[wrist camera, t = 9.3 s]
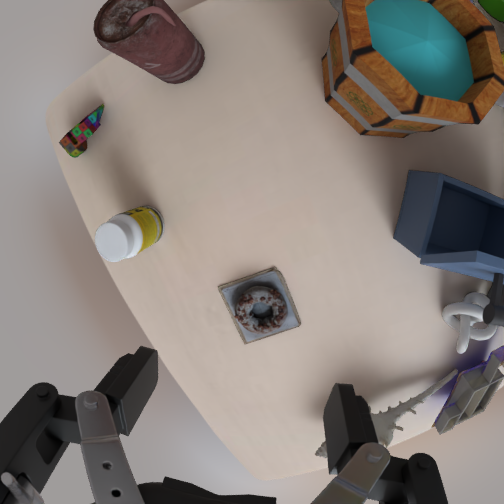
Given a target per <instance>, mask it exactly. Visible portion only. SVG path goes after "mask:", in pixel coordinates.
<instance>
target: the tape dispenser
mask: <svg viewBox="0 0 504 504" xmlns="http://www.w3.org/2000/svg"><path fill="white" fill-rule="evenodd" d="M478 1H479V3H480V4H481V5H482V7H483V8H484V9H485V10H486V11H487V12H488V13H489V14H490V15H491V16H492V17H494V18H495V19H497V20H499V21H501V22H504V0H478Z"/></svg>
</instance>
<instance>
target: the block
mask: <svg viewBox="0 0 504 504" xmlns="http://www.w3.org/2000/svg"><path fill="white" fill-rule="evenodd" d="M103 108H104V104H102V105H100V106H99V107H98V108H96V109H95V110H94V111H93V112H91V113H90V114H89V115H87V116H86V117H85V118H84V119H83V120H82V121H81V122H80V123H79V124H77V125H76V126H75V127H74V128H73V129H71V130H70V131H69V132H68V133H67V134H66V135H65V136H64V137H63V138H62V140H61V141H60V142H59V143H60V144H61V146H62V147H63V148H64V149H65V150H66V152H67V153H68V154H69V155H70V156H72V157H78V156H79V155H80V154H82V153H83V152H84V151H86V149H87V142H86V139H87V138H88V137H90V136H91V135H92V134H93V133H94V132H95V131H96V130H97V128H98V127H99V126H100V125H101V124H100V123H99V121H100V118H101V115H102V112H103Z"/></svg>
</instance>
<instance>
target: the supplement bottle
mask: <svg viewBox="0 0 504 504" xmlns="http://www.w3.org/2000/svg"><path fill="white" fill-rule="evenodd" d="M163 232H164V221H163V218H162V216H161V214H160V213H159V212H158V211H157V210H156V209H154V208H153V207H150V206H142V207H138V208H135V209H132V210H129V211H126V212H123V213H120V214H117V215H115V216H113V217H112V218H111V219H110V220H109V221H107V222H106V223H103V224H102V225H101V226H100V227H99V228H98V229H97V231H96V235H95V244H96V248H97V250H98V252H99V253H100V255H101V256H102V257H103V258H104V259H106V260H108V261H111V262H118V261H120V260H122V259H128V258H131V257H133V256H135V255H137V254H138V253H140V252H141V251H143V250H145V249H146V248H148V247H149V246H151V245H153V244H154V243H156V242H157V241H159V239H160V238H161V237H162V235H163Z"/></svg>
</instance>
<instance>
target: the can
mask: <svg viewBox="0 0 504 504" xmlns="http://www.w3.org/2000/svg"><path fill="white" fill-rule="evenodd" d="M94 33H95V36H96V37H97V41H98V42H99V44H100V45H101V46H102V47H103V48H105V49H107V50H109V51H111V52H113V53H115V54H116V55H118V56H120V57H122V58H124V59H126V60H128V61H129V62H131V63H133V64H135V65H137V66H138V67H140V68H142V69H144V70H145V71H147V72H149V73H151V74H152V75H154V76H156V77H157V78H159V79H161V80H163V81H165V82H167V83H172V84H177V83H183V82H185V81H187V80H189V79H191V78H192V77H193V76H195V75H196V74H197V73H198V72H199V70H200V69H201V67H202V65H203V62H204V59H205V57H204V50H203V47H202V45H201V44H200V43H199V42H198V40H197V39H196V38H195V37H194V35H193V34H192V33H191V32H190V30H189V29H188V28H187V27H186V26H185V24H184V23H183V22H182V21H181V20H180V19H179V17H178V16H177V15H176V14H175V13H174V12H173V10H172V9H171V8H170V7H169V6H168V5H167V4H166V2H165V1H164V0H108V1H107V2H106V3H105V4H104V5H103V6H102V8H101V9H100V11H99V12H98V14H97V16H96V19H95V21H94Z"/></svg>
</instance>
